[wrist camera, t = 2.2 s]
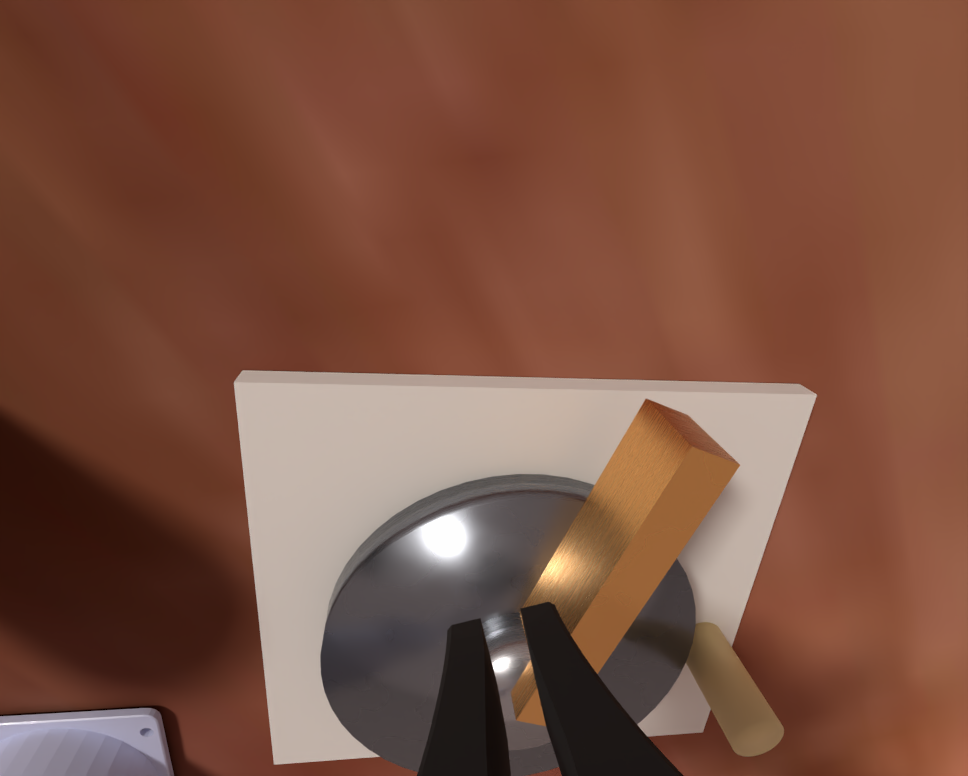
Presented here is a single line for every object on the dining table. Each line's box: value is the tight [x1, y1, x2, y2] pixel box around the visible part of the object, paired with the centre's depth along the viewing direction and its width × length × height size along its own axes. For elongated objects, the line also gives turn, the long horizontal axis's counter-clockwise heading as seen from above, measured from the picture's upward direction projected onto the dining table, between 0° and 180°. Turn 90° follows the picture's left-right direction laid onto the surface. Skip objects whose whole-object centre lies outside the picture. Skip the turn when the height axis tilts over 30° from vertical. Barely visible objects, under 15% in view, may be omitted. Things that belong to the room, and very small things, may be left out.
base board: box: [234, 370, 817, 765], centre depth 21 cm, size 18×20×6 cm
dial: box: [320, 399, 740, 776], centre depth 19 cm, size 18×14×4 cm
